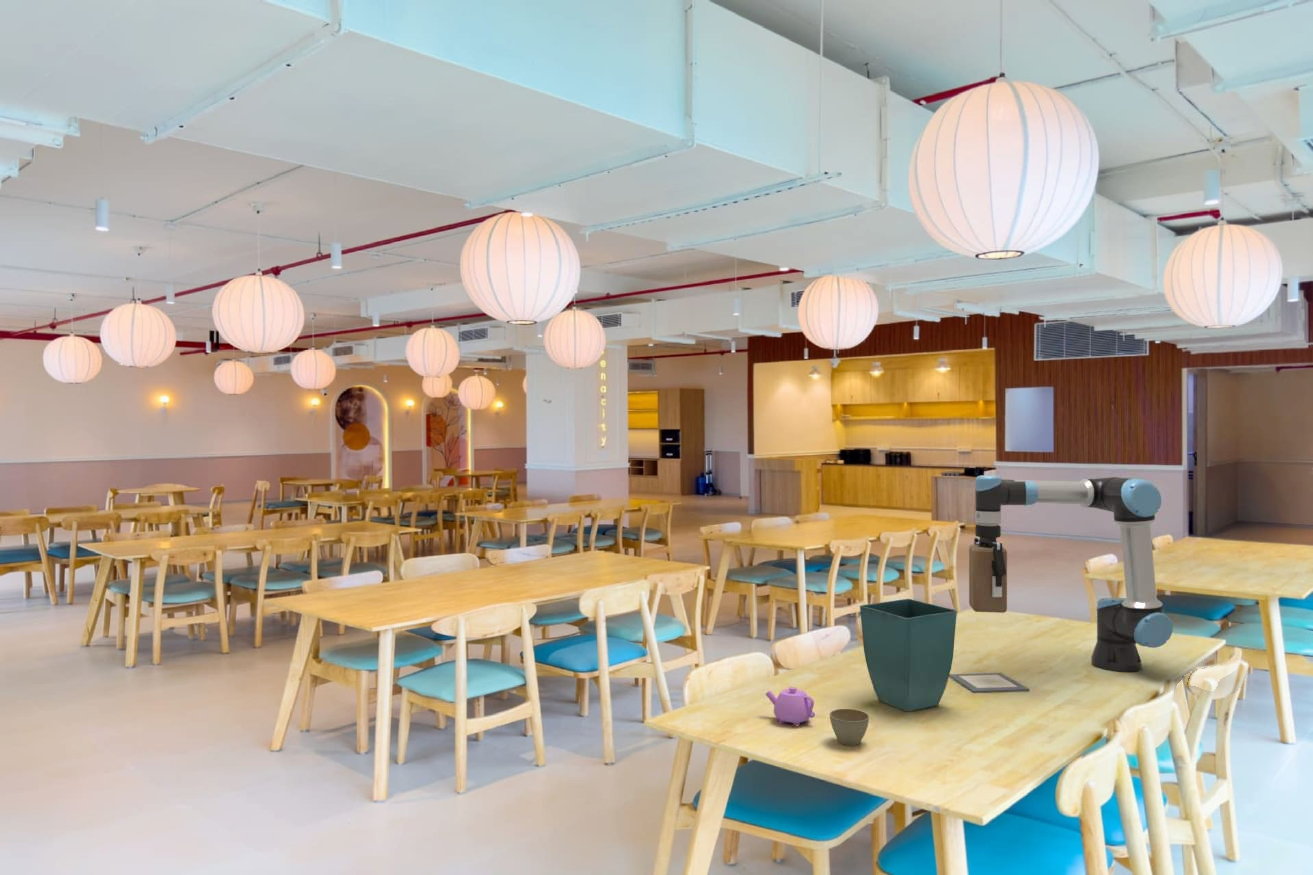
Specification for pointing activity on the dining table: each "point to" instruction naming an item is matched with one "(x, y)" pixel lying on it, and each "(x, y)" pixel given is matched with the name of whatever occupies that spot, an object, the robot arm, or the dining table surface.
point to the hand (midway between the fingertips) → (987, 593)
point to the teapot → (792, 705)
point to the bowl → (849, 725)
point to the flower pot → (908, 651)
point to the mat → (988, 682)
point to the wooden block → (985, 581)
